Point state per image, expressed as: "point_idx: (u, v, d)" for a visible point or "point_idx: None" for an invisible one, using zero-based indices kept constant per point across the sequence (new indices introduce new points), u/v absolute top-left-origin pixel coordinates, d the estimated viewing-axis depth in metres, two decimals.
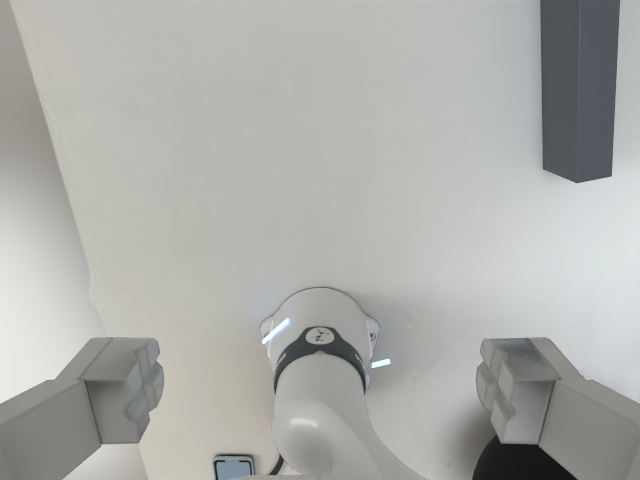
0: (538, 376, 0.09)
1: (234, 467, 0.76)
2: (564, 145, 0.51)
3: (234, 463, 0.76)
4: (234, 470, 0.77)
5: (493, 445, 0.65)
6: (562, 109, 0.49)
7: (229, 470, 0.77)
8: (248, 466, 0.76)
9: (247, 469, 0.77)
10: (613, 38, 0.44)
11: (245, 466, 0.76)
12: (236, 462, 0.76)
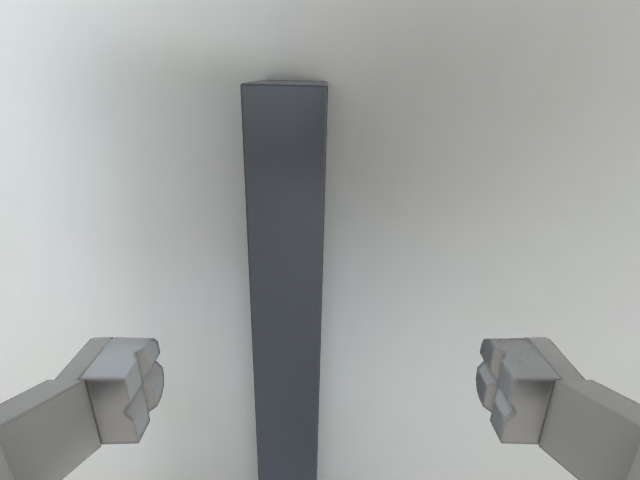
0: (538, 376, 0.09)
1: None
2: None
3: None
4: None
5: None
6: None
7: None
8: None
9: None
10: (261, 353, 0.25)
11: None
12: None
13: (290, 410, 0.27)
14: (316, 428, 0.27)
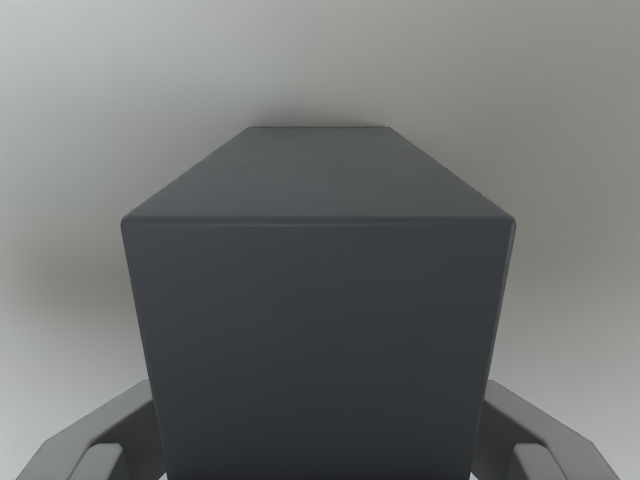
0: None
1: None
2: None
3: None
4: None
5: None
6: None
7: None
8: None
9: None
10: None
11: None
12: None
13: None
14: None
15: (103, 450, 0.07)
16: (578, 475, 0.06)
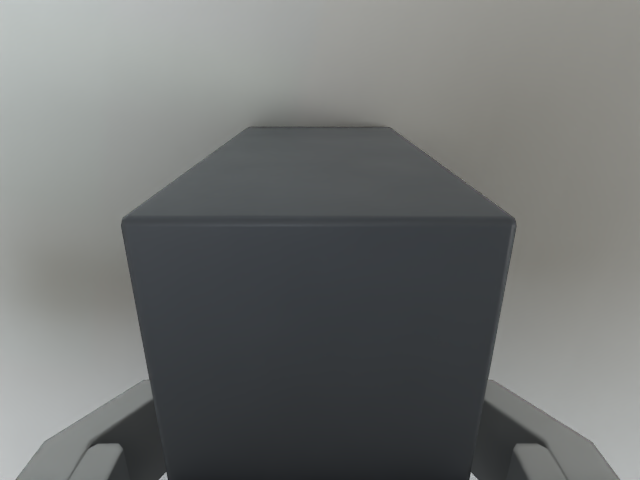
0: None
1: None
2: None
3: None
4: None
5: None
6: None
7: None
8: None
9: None
10: None
11: None
12: None
13: None
14: None
15: (104, 450, 0.07)
16: (578, 475, 0.06)
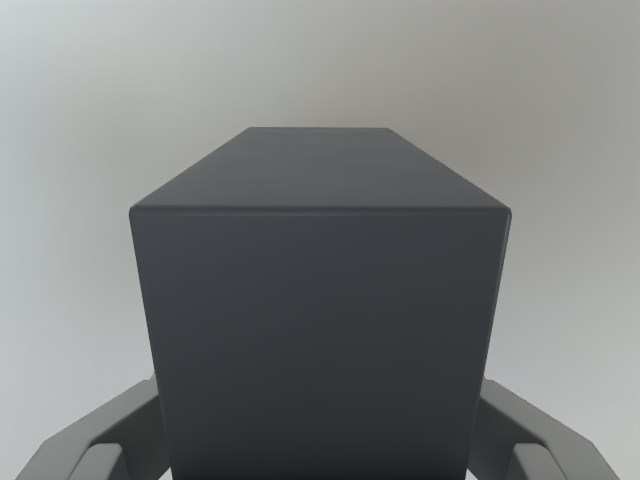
0: None
1: None
2: None
3: None
4: None
5: None
6: None
7: None
8: None
9: None
10: None
11: None
12: None
13: None
14: None
15: (102, 449, 0.07)
16: (577, 475, 0.06)
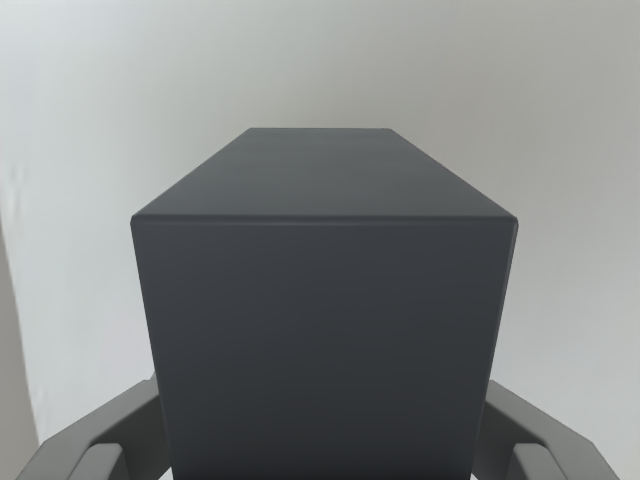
0: None
1: None
2: None
3: None
4: None
5: None
6: None
7: None
8: None
9: None
10: None
11: None
12: None
13: None
14: None
15: (103, 449, 0.07)
16: (578, 475, 0.06)
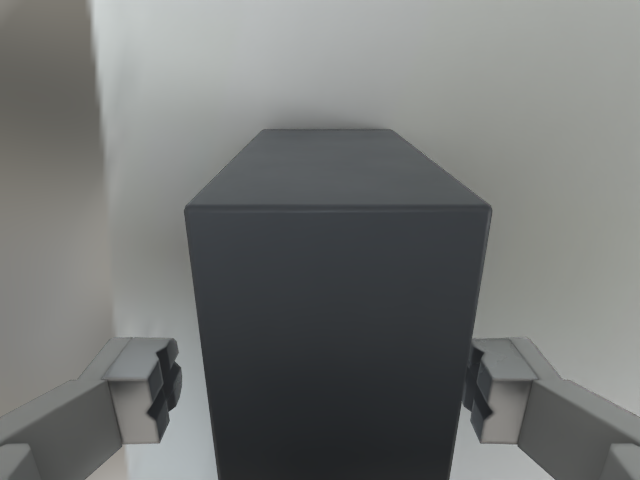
0: (516, 376, 0.09)
1: None
2: None
3: None
4: None
5: None
6: None
7: None
8: None
9: None
10: None
11: None
12: None
13: None
14: None
15: (10, 449, 0.07)
16: None
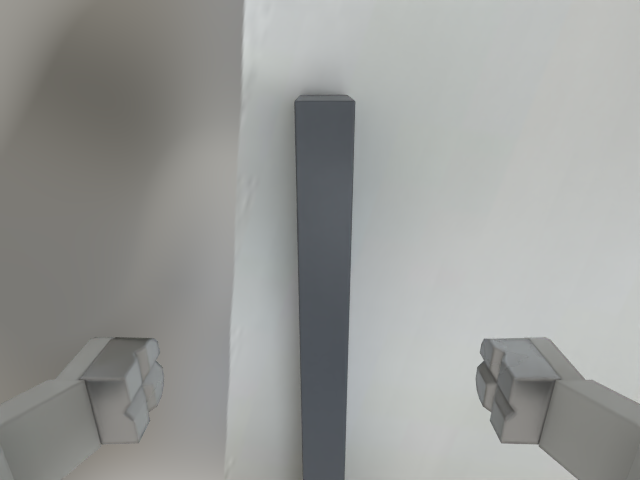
0: (538, 376, 0.09)
1: None
2: None
3: None
4: None
5: None
6: None
7: None
8: None
9: None
10: (305, 299, 0.33)
11: None
12: None
13: (326, 345, 0.35)
14: (346, 359, 0.36)
15: None
16: None
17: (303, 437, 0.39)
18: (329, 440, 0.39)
